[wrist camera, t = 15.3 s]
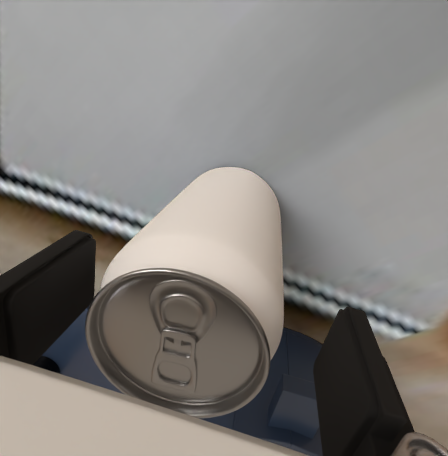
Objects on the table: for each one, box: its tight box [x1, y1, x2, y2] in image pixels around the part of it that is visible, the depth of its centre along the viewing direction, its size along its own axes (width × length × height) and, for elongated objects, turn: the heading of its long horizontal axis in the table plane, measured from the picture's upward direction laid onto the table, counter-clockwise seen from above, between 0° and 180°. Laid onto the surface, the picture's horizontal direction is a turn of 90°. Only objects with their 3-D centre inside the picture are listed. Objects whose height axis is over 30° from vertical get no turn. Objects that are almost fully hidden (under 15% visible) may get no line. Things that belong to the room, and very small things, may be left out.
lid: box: [33, 306, 125, 395], centre depth 25 cm, size 18×18×6 cm
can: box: [85, 167, 284, 418], centre depth 14 cm, size 6×6×12 cm
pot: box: [198, 328, 323, 456], centre depth 22 cm, size 17×22×8 cm
